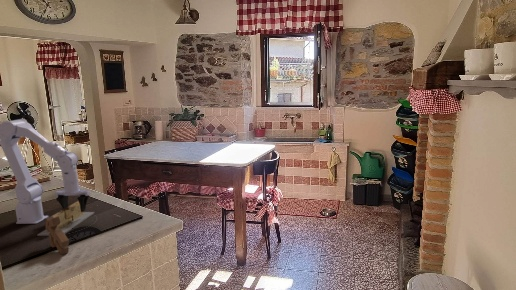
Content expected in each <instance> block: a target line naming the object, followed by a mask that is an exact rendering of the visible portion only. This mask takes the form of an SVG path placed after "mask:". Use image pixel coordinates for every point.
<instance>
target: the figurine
mask: <svg viewBox="0 0 516 290" xmlns="http://www.w3.org/2000/svg"><path fill="white" fill-rule="evenodd" d="M60 223H61V222H60V218H59V217H55V218H54V217H53V215H51V216H49V217H47V218H45V230H47V231H48V232H50V233H49V236H48V238H49V244H50V247H52V248H56V249H57V250H58V253H59V254H60V255H61V256H62V255H66V254H68V253H69V249H70V248H69V245H70V239H69V238H68V236H67V235H66V233H65V234H64V232H62V230H61V229H59V228H58V225H59V224H60Z"/></svg>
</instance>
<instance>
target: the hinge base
mask: <svg viewBox="0 0 516 290" xmlns="http://www.w3.org/2000/svg"><path fill="white" fill-rule="evenodd" d="M52 216H53V217H54V218H55V217H59V218H60V222H61V223H60V224H59V225H58V228H59V229H61V228H63V227H64V226H66V225H67V224H69V223H72V217H70V218H66V219H65V214H64V212H61V211H59V212H56V213H55V214H53V215H52Z"/></svg>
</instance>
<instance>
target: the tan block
mask: <svg viewBox="0 0 516 290" xmlns="http://www.w3.org/2000/svg"><path fill="white" fill-rule="evenodd" d="M60 212H64V214H65V219H66V218H70V217H72V221H74V220H75V219H77V218H78V217H80V216H81V215H83V214H84V212H85V211H84V212H81V209H80V204H79V201H78V200H77V201H75V202H74V203H72V204H70V205H68V207H67V208H64V209H63V208H62V209H60Z"/></svg>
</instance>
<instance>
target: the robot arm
mask: <svg viewBox="0 0 516 290" xmlns="http://www.w3.org/2000/svg"><path fill="white" fill-rule="evenodd" d="M21 138H28V140H30V141H32V142H33V143H34V144H37V145H38V146H40V147H41V148H43V152H44V153H45V154H46V155H48V156H49V157H50V158H51V159H53V160H54V161H56V164H57V166H58V167H59V168H60V170H61V173H62V174H61V176H62V183H63V190H57V191H55V192H54V197H55V199H56V201H57V203H59V204H60V206H61V208H62V209H64V208H67V207H68V206H69V196H70V197H71V196H73V197H74V196H76V197H77V196H78V197H77V201H79V204H80V209H81V212H86V206H87V202H88V199H89V197H90V195H91V193H90V190H87V189H80V183H79V176H78V175H79V173H78V170H77V163H79V158H78V156H77V154H76V153H74V152H72V151H71V152H69V150H67V149H65V148H63V147H62V146H61V145H60V143H59V142H55V141H49V139H47V138H45V137H44V136H43V135H42V134H41V133H40V132H38V131H37V130H36V129H35V128H34V127H33V126H32V124H31V123H29V122H28V121H27V120H25V119H23V118H19V119H14V120H5V121H3V122H1V123H0V147H1V150H2V151H3V153H4V155H5V158H6V160H7V163H8V164H9V167H10V168H11V171H12V174H13V176H14V177H15V180H16V185H15V187H14V190H15V197H16V200H17V201H18V202H17V203H16V205H15V213H16V222H15V223H16V224H17V225H18V224H23V225H24V224H27V225H28V224H31V225H32V224H38V223H40V222H42V221H44V220H46V218H47V217H50V216H49V215H44V209H43V204H42V203H43V202H42V195H43V194H44V188H43V185H42V184H40V183H39V181H38V179H36V178H34V177H33V176H32V175H31V173H30V169H29V167H28V166H27V165H28V164H27V163H26V161H25V159H24V158H25V157H24V156H23V154H22V152H21V150H20V149H21V148H19V145H18V142H19V141H20V139H21Z"/></svg>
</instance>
